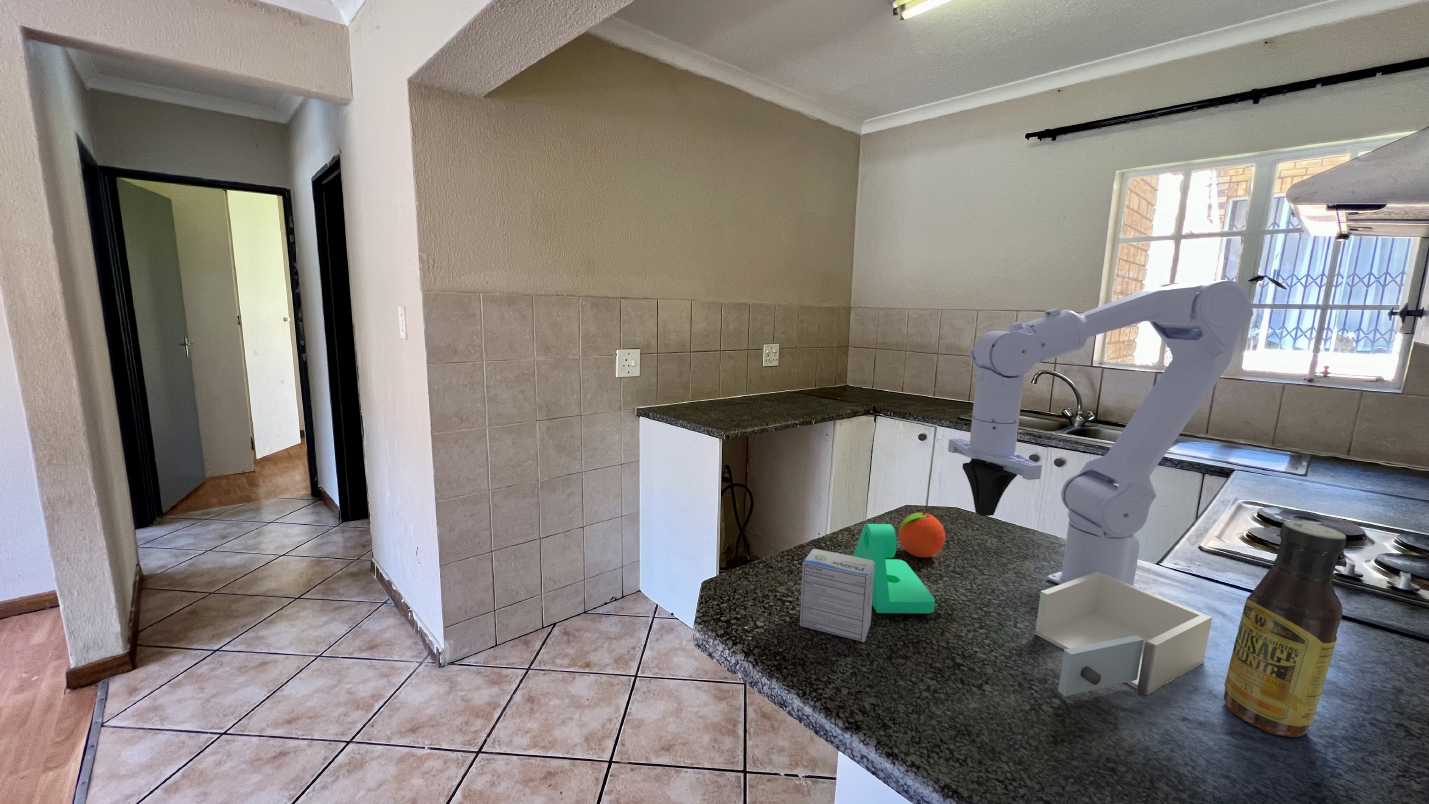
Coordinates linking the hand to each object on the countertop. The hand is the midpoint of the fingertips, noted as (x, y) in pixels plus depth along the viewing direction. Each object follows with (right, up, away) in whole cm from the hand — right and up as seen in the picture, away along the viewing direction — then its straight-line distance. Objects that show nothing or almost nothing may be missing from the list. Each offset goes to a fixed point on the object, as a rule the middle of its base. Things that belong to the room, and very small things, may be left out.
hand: (984, 514), depth 79 cm
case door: (+1, -13, -22) cm, 26 cm away
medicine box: (-23, -12, -10) cm, 28 cm away
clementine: (-6, -9, +10) cm, 15 cm away
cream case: (+9, -13, -13) cm, 21 cm away
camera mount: (-14, -11, -2) cm, 18 cm away
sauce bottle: (+16, -15, -24) cm, 33 cm away
